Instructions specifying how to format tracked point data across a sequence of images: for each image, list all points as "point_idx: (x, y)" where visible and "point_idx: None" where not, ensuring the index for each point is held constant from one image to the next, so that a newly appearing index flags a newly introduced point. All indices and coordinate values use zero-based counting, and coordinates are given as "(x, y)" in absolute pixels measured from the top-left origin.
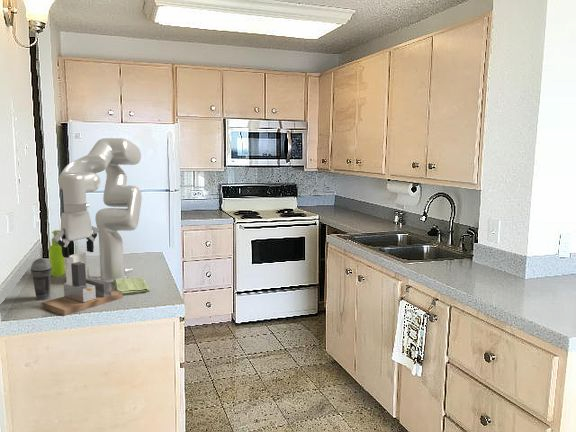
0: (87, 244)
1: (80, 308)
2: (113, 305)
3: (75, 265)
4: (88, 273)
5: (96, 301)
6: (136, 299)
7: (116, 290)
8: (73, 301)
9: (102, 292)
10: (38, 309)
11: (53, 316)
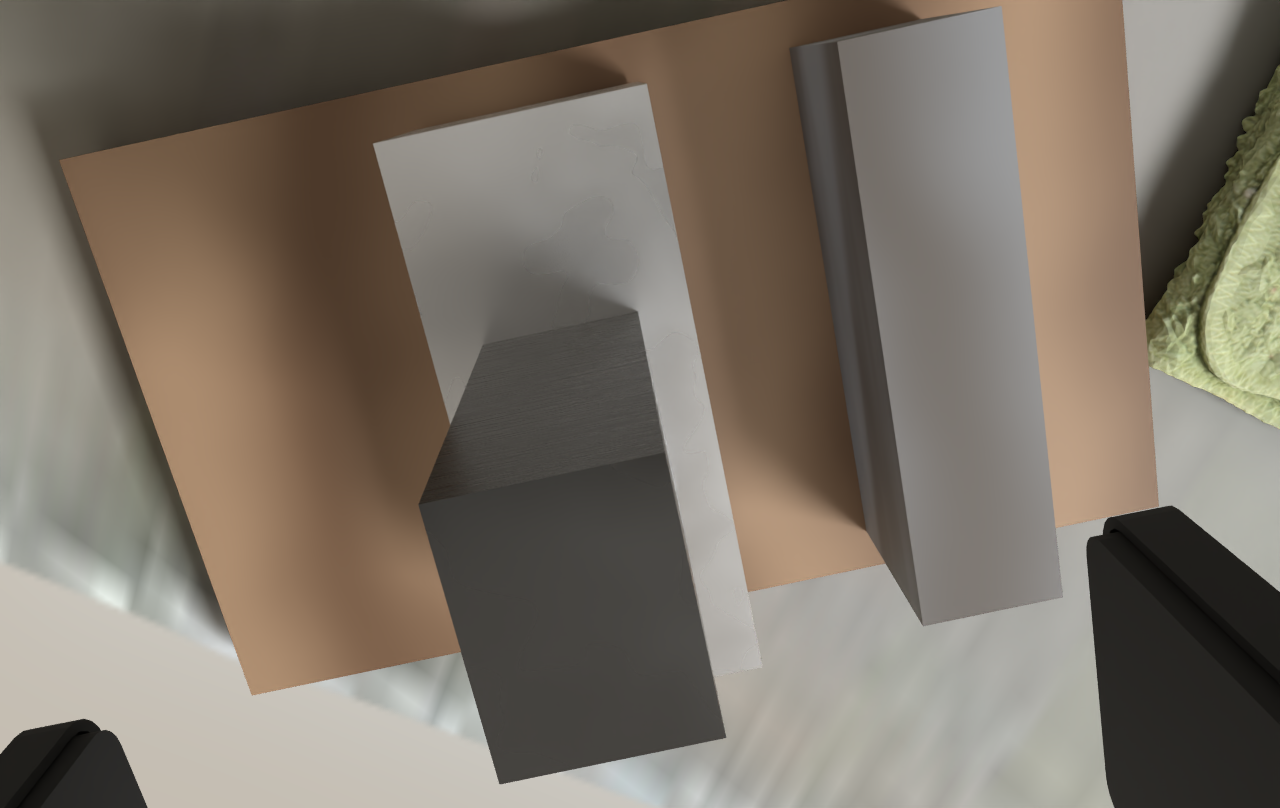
0: (1252, 782)
1: None
2: (871, 677)
3: (475, 682)
4: None
5: None
6: None
7: (1201, 251)
8: None
9: (877, 526)
10: (36, 195)
11: (153, 600)
